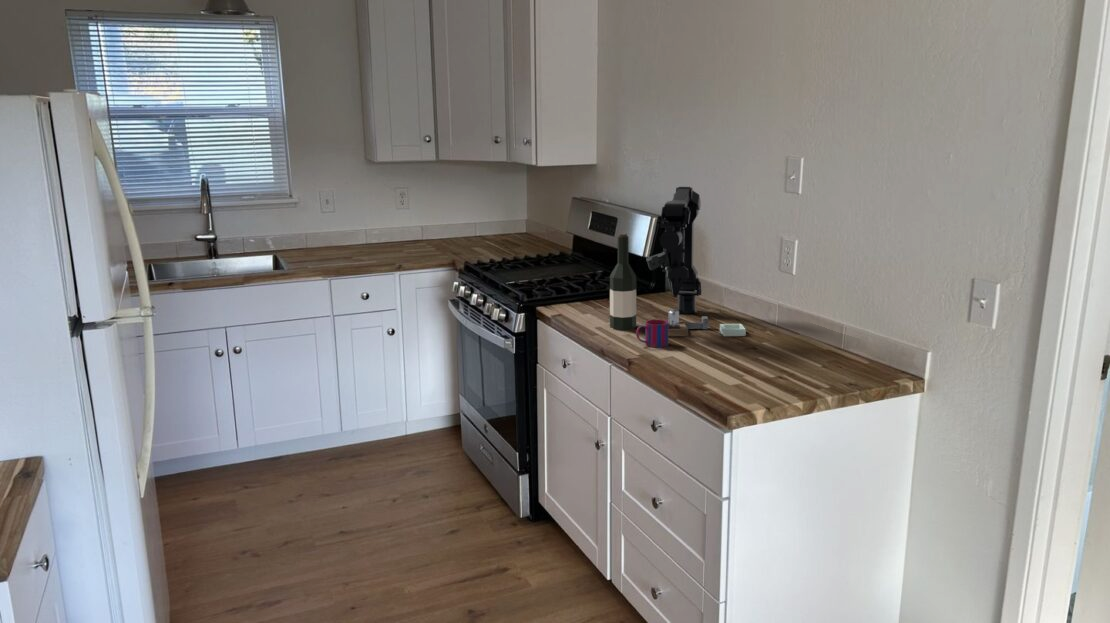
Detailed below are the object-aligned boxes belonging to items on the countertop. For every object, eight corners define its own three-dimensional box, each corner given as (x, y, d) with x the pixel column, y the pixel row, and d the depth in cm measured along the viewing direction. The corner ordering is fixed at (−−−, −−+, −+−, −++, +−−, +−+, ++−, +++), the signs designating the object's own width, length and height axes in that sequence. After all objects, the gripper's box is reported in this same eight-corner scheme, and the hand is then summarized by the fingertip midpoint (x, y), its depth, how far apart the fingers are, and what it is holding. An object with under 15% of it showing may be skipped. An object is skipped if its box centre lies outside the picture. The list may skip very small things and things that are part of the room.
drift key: (670, 327, 259) (670, 317, 258) (706, 326, 258) (706, 316, 258) (671, 329, 256) (671, 319, 255) (708, 329, 256) (708, 318, 255)
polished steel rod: (667, 332, 254) (667, 310, 252) (677, 331, 254) (678, 310, 252) (668, 334, 251) (669, 312, 249) (679, 334, 251) (679, 312, 249)
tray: (719, 330, 254) (719, 324, 254) (740, 330, 254) (741, 323, 254) (723, 336, 248) (723, 329, 248) (745, 335, 248) (745, 329, 247)
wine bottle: (636, 323, 265) (636, 231, 258) (636, 330, 257) (636, 235, 250) (610, 323, 265) (610, 232, 258) (609, 330, 257) (609, 235, 250)
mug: (671, 346, 239) (672, 323, 237) (639, 349, 236) (639, 326, 235) (663, 340, 245) (663, 318, 243) (631, 343, 242) (631, 321, 241)
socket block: (657, 327, 260) (657, 321, 259) (683, 326, 260) (683, 320, 259) (661, 336, 249) (661, 330, 249) (688, 336, 249) (688, 329, 249)
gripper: (645, 240, 255) (644, 289, 259) (651, 250, 237) (650, 302, 241) (680, 240, 255) (680, 288, 259) (689, 249, 237) (688, 302, 241)
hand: (674, 295), depth 250 cm, fingers open, 4 cm apart
